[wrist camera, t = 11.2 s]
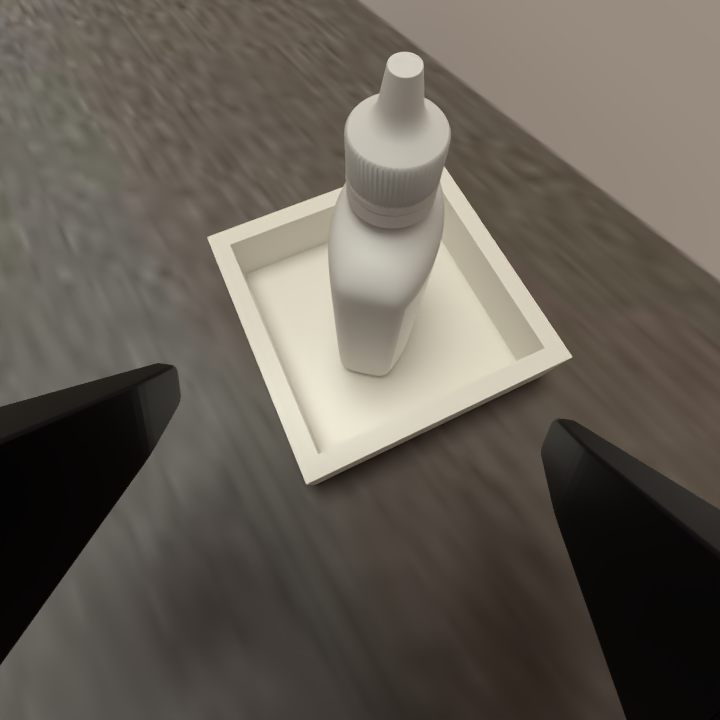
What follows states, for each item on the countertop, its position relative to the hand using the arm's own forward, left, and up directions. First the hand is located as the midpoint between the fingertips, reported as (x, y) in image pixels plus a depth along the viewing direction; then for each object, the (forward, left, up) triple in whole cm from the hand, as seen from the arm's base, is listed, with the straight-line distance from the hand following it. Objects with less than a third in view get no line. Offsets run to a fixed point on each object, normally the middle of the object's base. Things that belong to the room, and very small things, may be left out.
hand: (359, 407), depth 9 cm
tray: (+5, -3, -9) cm, 11 cm away
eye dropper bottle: (+5, -3, -8) cm, 10 cm away
